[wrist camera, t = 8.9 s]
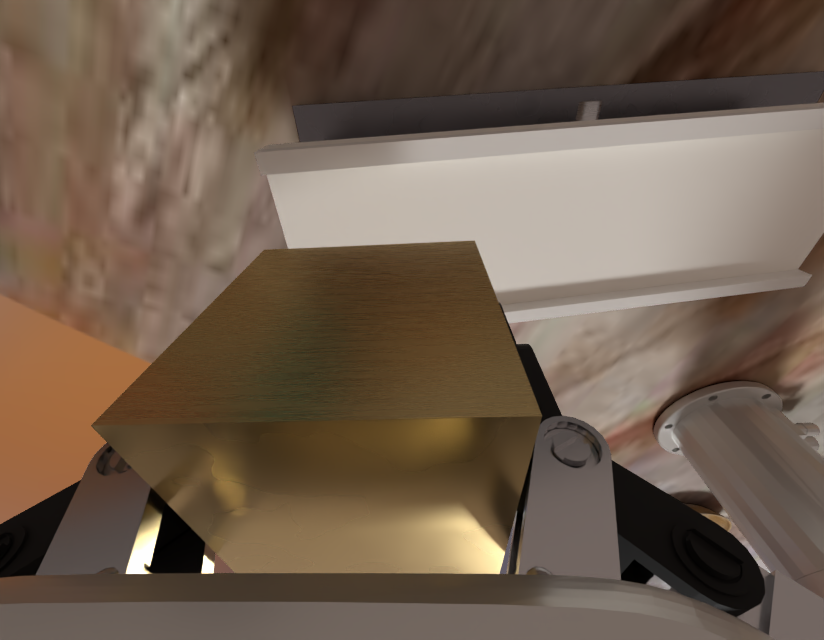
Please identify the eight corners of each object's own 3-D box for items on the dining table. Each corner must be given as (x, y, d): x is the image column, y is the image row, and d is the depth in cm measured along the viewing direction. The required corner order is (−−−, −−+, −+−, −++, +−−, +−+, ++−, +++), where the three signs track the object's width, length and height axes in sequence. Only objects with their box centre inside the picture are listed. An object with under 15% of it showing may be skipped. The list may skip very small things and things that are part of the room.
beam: (876, 98, 16) (943, 98, 14) (766, 270, 22) (804, 286, 20) (267, 144, 14) (254, 152, 12) (317, 323, 20) (312, 347, 18)
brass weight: (474, 240, 9) (542, 415, 4) (465, 390, 12) (496, 583, 8) (264, 249, 9) (90, 425, 4) (311, 393, 13) (245, 583, 8)
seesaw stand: (817, 71, 20) (969, 64, 14) (719, 255, 27) (796, 297, 21) (297, 105, 21) (256, 110, 15) (333, 273, 28) (313, 317, 22)
